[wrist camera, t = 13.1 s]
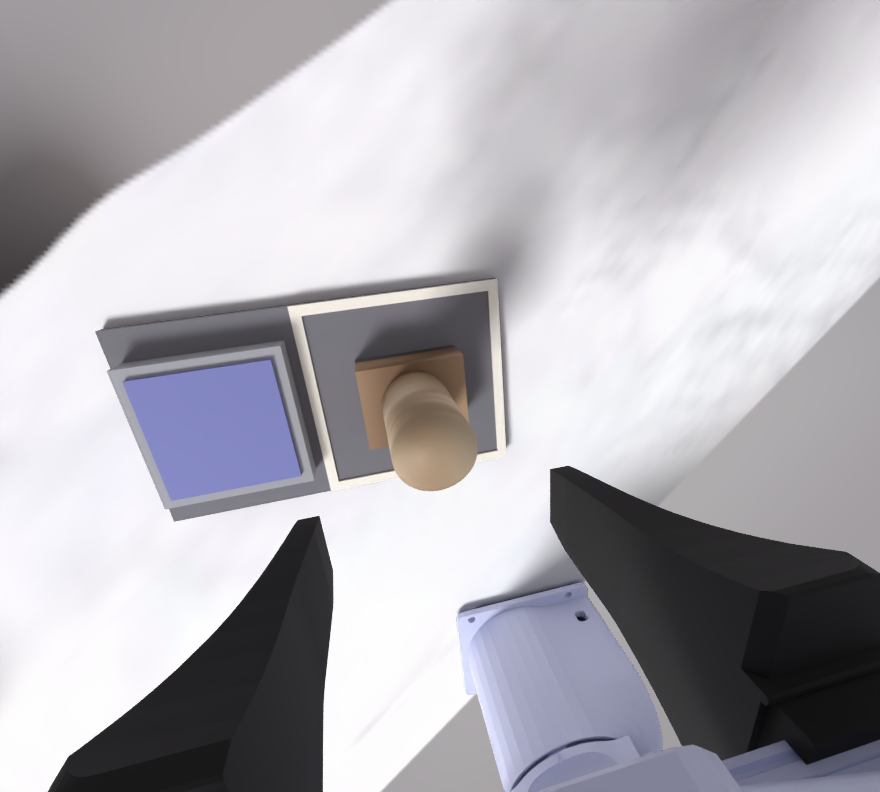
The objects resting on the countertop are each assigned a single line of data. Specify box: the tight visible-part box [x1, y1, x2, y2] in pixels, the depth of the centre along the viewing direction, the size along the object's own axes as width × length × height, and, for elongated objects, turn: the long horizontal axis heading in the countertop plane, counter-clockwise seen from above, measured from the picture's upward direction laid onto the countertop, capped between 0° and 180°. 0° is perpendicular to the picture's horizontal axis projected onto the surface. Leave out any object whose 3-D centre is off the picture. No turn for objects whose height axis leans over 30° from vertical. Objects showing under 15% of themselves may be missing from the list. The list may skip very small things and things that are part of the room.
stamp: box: [355, 345, 478, 491], centre depth 18 cm, size 5×4×7 cm
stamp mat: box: [96, 278, 506, 522], centre depth 21 cm, size 18×10×2 cm, turn 96°
